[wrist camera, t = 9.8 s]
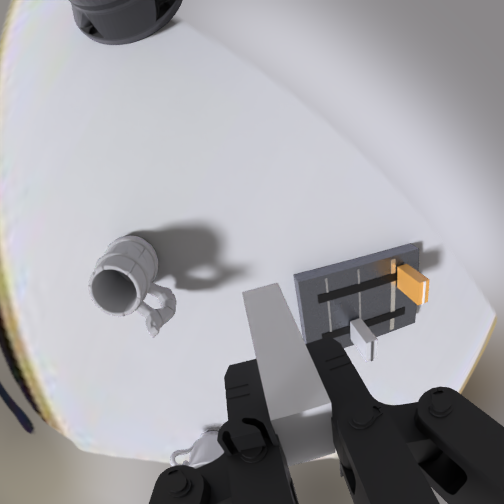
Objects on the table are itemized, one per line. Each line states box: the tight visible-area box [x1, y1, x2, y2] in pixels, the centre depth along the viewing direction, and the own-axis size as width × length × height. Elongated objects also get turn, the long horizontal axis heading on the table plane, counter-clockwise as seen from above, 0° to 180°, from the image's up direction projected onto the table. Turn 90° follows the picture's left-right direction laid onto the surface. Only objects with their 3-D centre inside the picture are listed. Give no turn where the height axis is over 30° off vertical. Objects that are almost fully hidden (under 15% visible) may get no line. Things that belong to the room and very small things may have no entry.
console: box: [294, 244, 419, 348], centre depth 46 cm, size 14×20×3 cm
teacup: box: [170, 431, 224, 469], centre depth 50 cm, size 12×15×10 cm
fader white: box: [350, 318, 378, 362], centre depth 43 cm, size 4×2×6 cm, turn 11°
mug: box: [88, 235, 176, 338], centre depth 35 cm, size 8×12×12 cm, turn 47°
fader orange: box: [397, 264, 429, 305], centre depth 40 cm, size 4×2×6 cm, turn 11°
